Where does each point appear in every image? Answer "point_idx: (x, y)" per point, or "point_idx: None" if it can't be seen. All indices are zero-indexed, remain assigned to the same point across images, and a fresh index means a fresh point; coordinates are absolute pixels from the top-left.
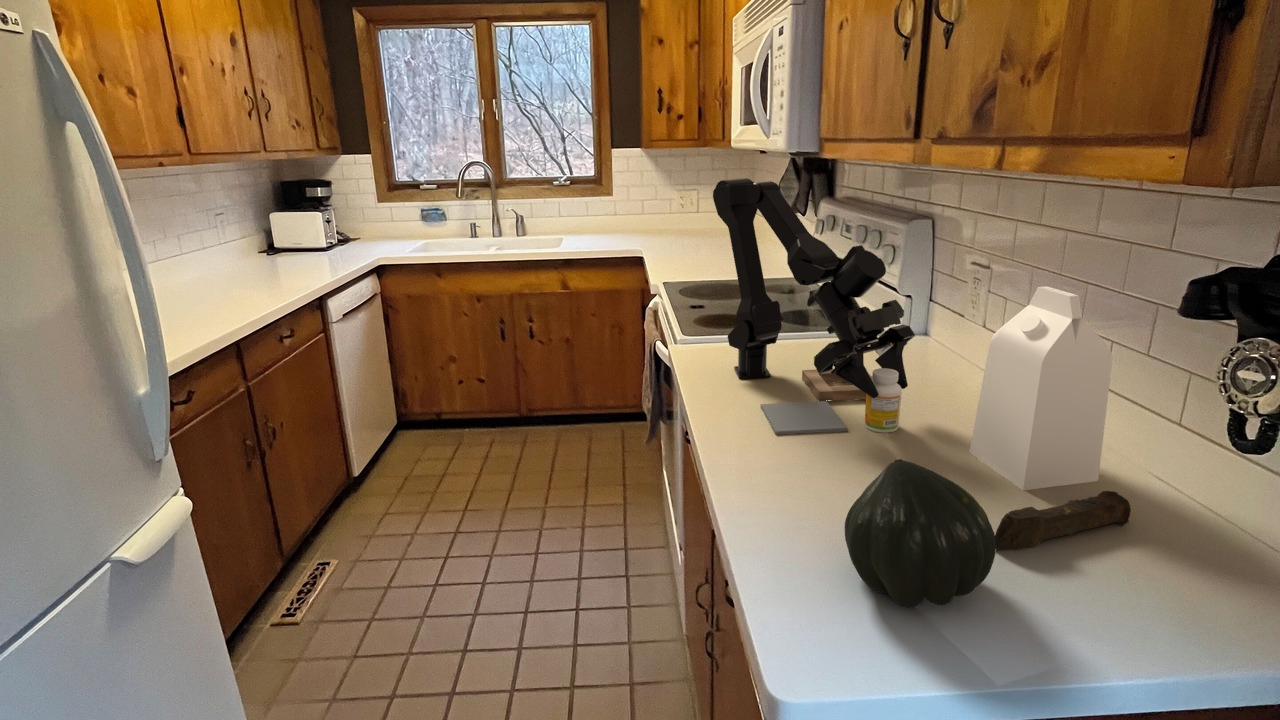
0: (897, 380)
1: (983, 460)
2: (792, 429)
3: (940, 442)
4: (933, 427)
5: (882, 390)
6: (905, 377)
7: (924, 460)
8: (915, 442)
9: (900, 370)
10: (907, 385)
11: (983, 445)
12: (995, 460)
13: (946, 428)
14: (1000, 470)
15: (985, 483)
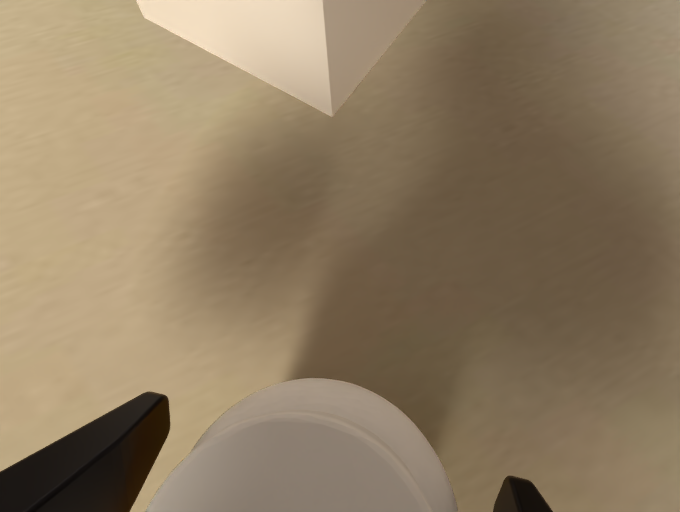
0: (283, 411)
1: (374, 60)
2: None
3: (318, 212)
4: (193, 293)
5: (437, 484)
6: (88, 430)
7: (504, 187)
8: (384, 278)
9: (44, 499)
10: (150, 392)
11: (367, 26)
12: (404, 2)
13: (173, 251)
14: (416, 3)
15: (501, 16)
